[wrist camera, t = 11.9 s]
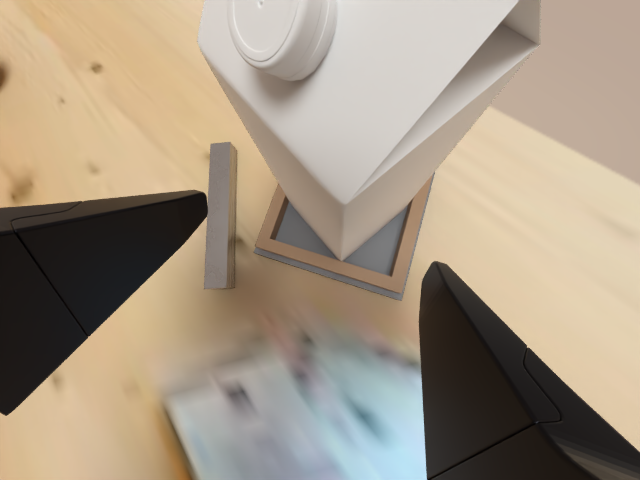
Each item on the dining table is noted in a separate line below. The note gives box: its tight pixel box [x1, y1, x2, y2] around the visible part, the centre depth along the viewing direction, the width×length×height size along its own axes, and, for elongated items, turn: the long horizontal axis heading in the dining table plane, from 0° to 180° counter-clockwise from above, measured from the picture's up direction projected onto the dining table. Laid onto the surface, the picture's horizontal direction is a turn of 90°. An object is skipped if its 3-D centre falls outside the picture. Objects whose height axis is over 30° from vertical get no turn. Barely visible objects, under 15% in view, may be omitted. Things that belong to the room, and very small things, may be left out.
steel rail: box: [204, 142, 237, 289], centre depth 23 cm, size 14×2×2 cm, turn 3°
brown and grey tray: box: [254, 172, 435, 301], centre depth 21 cm, size 14×14×2 cm
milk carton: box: [197, 0, 541, 261], centre depth 12 cm, size 7×7×19 cm
